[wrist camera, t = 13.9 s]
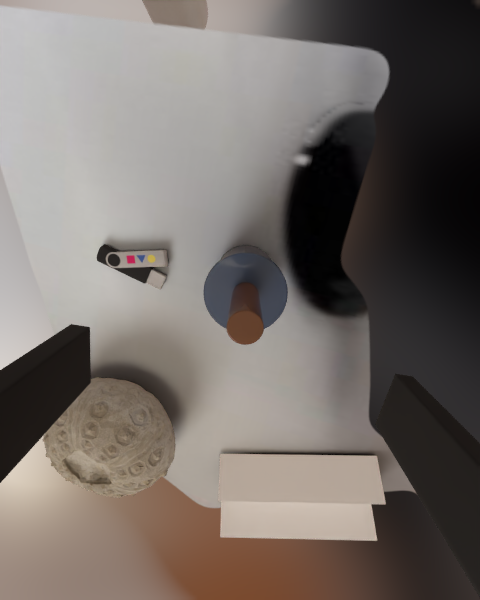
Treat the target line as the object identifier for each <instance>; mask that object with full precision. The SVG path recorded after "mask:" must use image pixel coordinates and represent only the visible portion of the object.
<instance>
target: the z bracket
mask: <svg viewBox="0 0 480 600" xmlns="http://www.w3.org/2000/svg"><path fill="white" fill-rule="evenodd" d="M218 501H222V502H221V534H220V537H235V538H282V539H283V538H284V539H327V540H374V541H377V538H376V531H375V525H374V519H373V513H372V507H371V504H386V503H385V498H384V492H383V486H382V481H381V476H380V470H379V465H378V459H377V456H358V455H281V454H220V471H219V499H218Z"/></svg>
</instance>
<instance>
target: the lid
mask: <svg viewBox="0 0 480 600" xmlns="http://www.w3.org/2000/svg"><path fill="white" fill-rule="evenodd" d="M287 294H288V291H287V284H286V280H285V278H284V276H283V274H282V272H281V270H280V269H279V268H278V267H277V265H276V264H275V263H274V262H272V261H271V260H270V259H268V258H266V257H265V256H263V255H260V254H257V253H252V252H239V253H235V254H231V255H229V256H227V257H225V258H223V259H222V260H220V261H219V262H218V263H217V264H216V265H215V266H214V267H213V268H212V269H211V271H210V272H209V274H208V276H207V278H206V281H205V285H204V300H205V304H206V307H207V310H208V311H209V313H210V315H211V316H212V318H213V319H214V320H215V321H216V322H217V323H219V324H220V325H221V326H223V327H224V328H226V329H227V333H228V335H229V337H230V338H231V339H232V340H233V341H235V342H237V343H239V344H244V345H246V344H252V343H254V342H256V341H257V340H258V339H259V338H260V337H261V336H262V334H263V331H264V329H265V328H267V327H269V326H270V325H271V324H273V323H274V322H275V321H276V320H277V319H278V318H279V317H280V315H281V314H282V312H283V310H284V308H285V305H286V302H287Z"/></svg>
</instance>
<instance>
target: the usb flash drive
mask: <svg viewBox="0 0 480 600" xmlns="http://www.w3.org/2000/svg"><path fill="white" fill-rule="evenodd" d="M97 260H98V261H99V262H101V263H103V264H105V265H107V266H109V267H111V268H114V269H116V270H118V271H120V272H122V273H124V274H126V275H128V276H130V277H132V278H134V279H136V280H138V281H140V282H142V283H148V284H150V285H152V286H154V287H156V288H158V289H161V288H162V286H163V284H164V281H165V279H166V277H167V276H166V275H164V274H162V273H160V272H158V271H156V270H154V269H153V267H165V266H168V257H167V250H166V249H163V250H136V251H118V250H116V249H114V248H112V247H109V246H107V245H105V244H104V245H103V246H101V247H100V249H99V251H98V254H97Z"/></svg>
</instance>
